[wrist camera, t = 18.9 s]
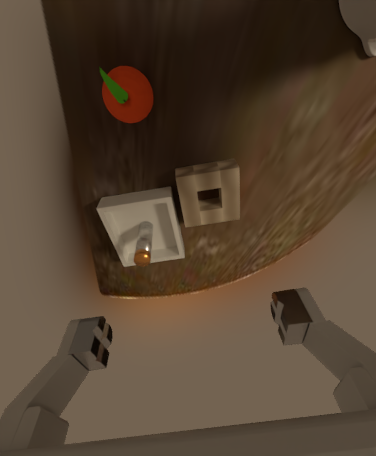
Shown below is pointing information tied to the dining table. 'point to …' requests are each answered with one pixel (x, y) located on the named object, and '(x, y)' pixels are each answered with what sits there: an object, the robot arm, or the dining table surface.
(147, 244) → the pin
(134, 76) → the clementine
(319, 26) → the dining table surface
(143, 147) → the dining table surface
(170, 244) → the tray
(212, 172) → the block
